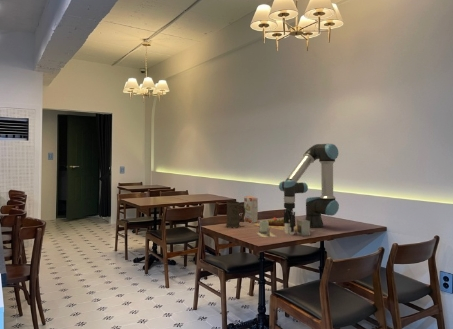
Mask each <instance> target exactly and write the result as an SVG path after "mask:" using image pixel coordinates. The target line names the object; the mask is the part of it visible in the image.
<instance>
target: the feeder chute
mask: <svg viewBox="0 0 453 329" xmlns="http://www.w3.org/2000/svg"><path fill="white" fill-rule="evenodd" d="M296 226H297V231H296V234H297V235H299V236H302V237H305V236H310V235H311V227H310V221H308V220H305V218H304V219H296Z"/></svg>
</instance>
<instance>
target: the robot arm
mask: <svg viewBox="0 0 453 329" xmlns="http://www.w3.org/2000/svg"><path fill="white" fill-rule="evenodd" d="M304 152H305V153H304V154H303V157H302V158H301V160H300V161H299V162H298V164H297V165H296V166H295V167H294V169H293V170H292V172H290V174H289V175H288V177H287V178H286V179H285V180H283V181H280V183H278V184H279V185H278V188H279V190H280V191H281V192H283V202H284V203H283V208H284V209H283V219H284V224H285V223H288V222H290V234H289V235H290V236H292V235H294V234H295V231H294V227H295V226H297V223H296V211H294V209H295V208H296V203H295V202H296V194H304V193H307V191H308V189H309V187H308V184H307V183H305V182H298V181H299V180H300V178H301V177H302V176H303V175H304V174H305V173H306V171H307V169H308V168H309V167H310V166H311V164H313V163H314V162H315V161H317V160H318V161H319V163H320V164H321V165H320V168H321V170H320V172H321V173H320V174H321V195H320V196H311V197H310V196H309V197H307V198H306V199H305V218H304V219H305V220H308V221H310V229H311V228H312V229H313V228H315V229H317V228H323V227H324V220H323V218H322V215H325V216H329V217H330V216H335V215H336V214H337V213H338V211H339V209H340V208H339V207H340V206H339V202H338V201H337V200H336V197H335V195H334V163H335V162H336V159H338V156H339V149H338V147H337V146H336V144H334V143H317V144H314V145H312V146H311V147H309V148H308V149H307V150H306V151H304Z"/></svg>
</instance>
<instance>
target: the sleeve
mask: <svg viewBox="0 0 453 329" xmlns="http://www.w3.org/2000/svg"><path fill="white" fill-rule="evenodd" d="M284 234H285V235H290V223H285V230H284Z"/></svg>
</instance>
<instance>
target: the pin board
mask: <svg viewBox="0 0 453 329" xmlns="http://www.w3.org/2000/svg"><path fill="white" fill-rule="evenodd" d="M254 233H255V234H257V235H258V236H259V237H261V238H269V237H270V238H271V237H278V235H276V234H275V233H273V232H271V227H269V228H267V234H261V233H259V231H255V232H254Z"/></svg>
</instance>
